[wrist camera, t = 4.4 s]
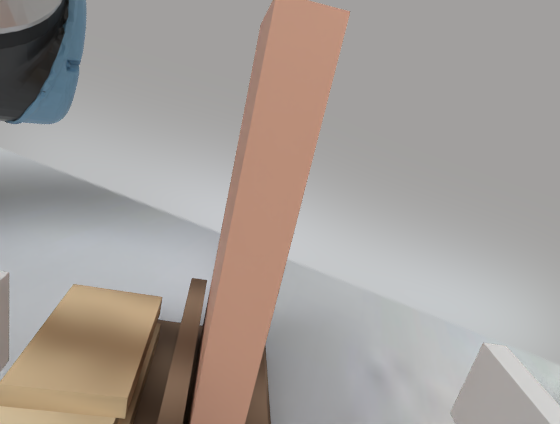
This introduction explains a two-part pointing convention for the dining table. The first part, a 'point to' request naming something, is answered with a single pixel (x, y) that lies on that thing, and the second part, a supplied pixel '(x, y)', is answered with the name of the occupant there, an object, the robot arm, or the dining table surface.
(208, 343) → the sheet
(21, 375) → the offcut stack
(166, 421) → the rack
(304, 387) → the dining table surface
